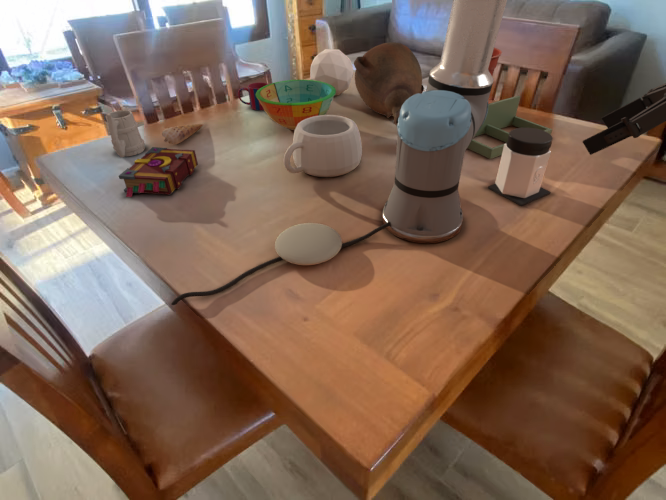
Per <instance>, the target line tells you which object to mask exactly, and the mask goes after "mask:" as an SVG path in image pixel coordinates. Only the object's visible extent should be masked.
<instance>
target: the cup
mask: <svg viewBox="0 0 666 500" xmlns="http://www.w3.org/2000/svg"><path fill="white" fill-rule="evenodd" d="M268 84H269V83H268V82H261V81H260V82H259V81H257V82H252V83H250V84H248V85H247V87H241V88H239V89H238V91H237V97H238V99H239V101H240V102H241V103H242V104H244V105H247V106H250V109H251V110H253V111H265V110H264V108H263V107H262V105H261V104H260V102H259V100H258V99H257V97H256V92H257V91H258V90H259V89H260V88H262V87H263V86H266V85H268ZM241 91H246V92H248V99H249V101H248V102H247V101H245V100H243V99H242V98H241Z"/></svg>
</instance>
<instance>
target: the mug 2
mask: <svg viewBox="0 0 666 500" xmlns="http://www.w3.org/2000/svg"><path fill="white" fill-rule="evenodd" d="M362 155H363V144H362V138H361V133H360V129H359V127H358V125H357V123H356V122H355V121H354V120H353V119H351V118H349V117H346V116H342V115H337V114H325V115H319V116H313V117H310V118H307V119H305V120H302V121H301V122H300V123H298V125H297V127H296V129H295V130H293V137H292V144H290V145H289V146H288V147H287V149H286V150H285V152H284V155H283V166H284V168H285V170H286V171H287V172H288V173H290V174H300V173H305V175H306V174H307V175H310V176H313V177H319V178H332V177H339V176H343V175H346V174H350V173H351V172H352V171H353V170H355V169H356V168H357V167H358V166H359V165H360V164H361V161H362V157H363V156H362ZM291 158H292V159H293V162H294V165H295V166H296V167H294V166H292V165H291Z"/></svg>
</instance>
